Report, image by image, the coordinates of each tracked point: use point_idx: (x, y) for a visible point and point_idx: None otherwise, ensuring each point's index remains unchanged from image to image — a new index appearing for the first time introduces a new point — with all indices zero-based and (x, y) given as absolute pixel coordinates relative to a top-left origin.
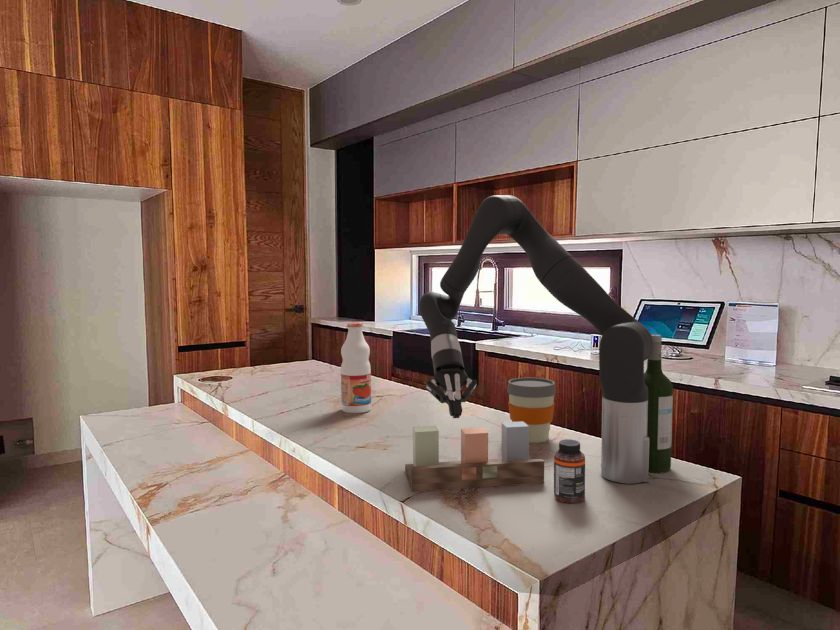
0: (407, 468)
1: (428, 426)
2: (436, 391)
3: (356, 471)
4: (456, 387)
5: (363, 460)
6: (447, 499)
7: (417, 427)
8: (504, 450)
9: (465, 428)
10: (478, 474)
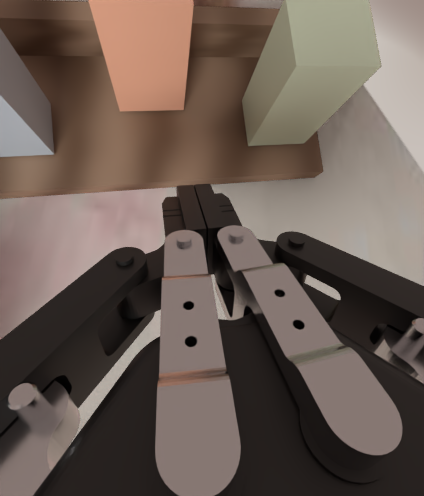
0: (316, 140)
1: (323, 59)
2: (363, 262)
3: (418, 185)
4: (201, 286)
5: (415, 259)
6: (224, 6)
7: (364, 54)
8: (31, 95)
9: (173, 4)
10: None
